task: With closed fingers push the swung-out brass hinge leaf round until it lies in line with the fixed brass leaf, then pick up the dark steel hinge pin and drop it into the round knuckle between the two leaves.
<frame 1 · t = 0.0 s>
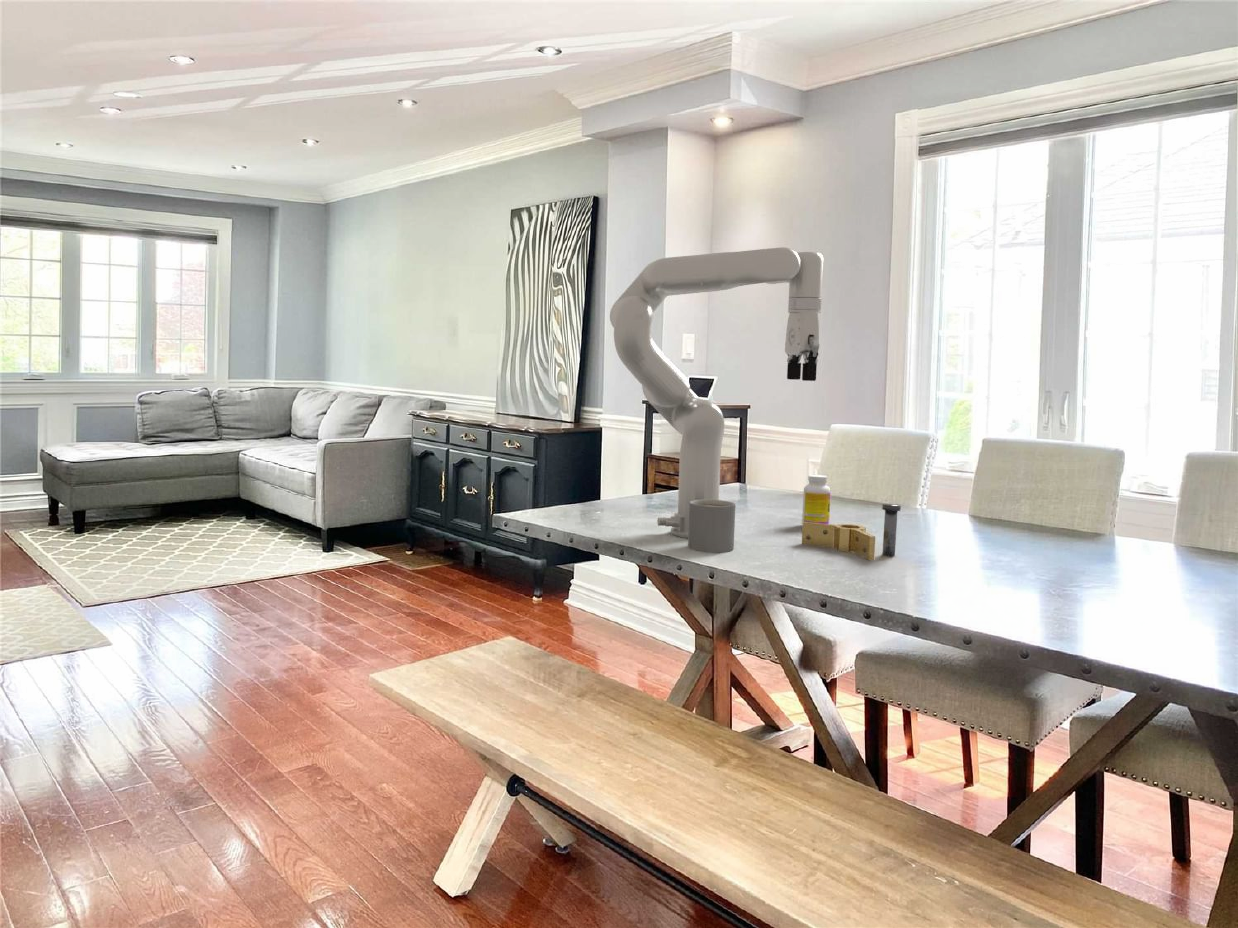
hand: (801, 380, 219), 37 cm above the table, tool pointing down, fingers open, 9 cm apart
loose leaf: (818, 534, 210), point 3 cm above the table, hinge at 55.0°
coffee mug: (713, 547, 206), on the table
supplement bottle: (815, 527, 234), on the table
hinge base: (848, 548, 207), on the table
hinge pin: (888, 555, 201), on the table
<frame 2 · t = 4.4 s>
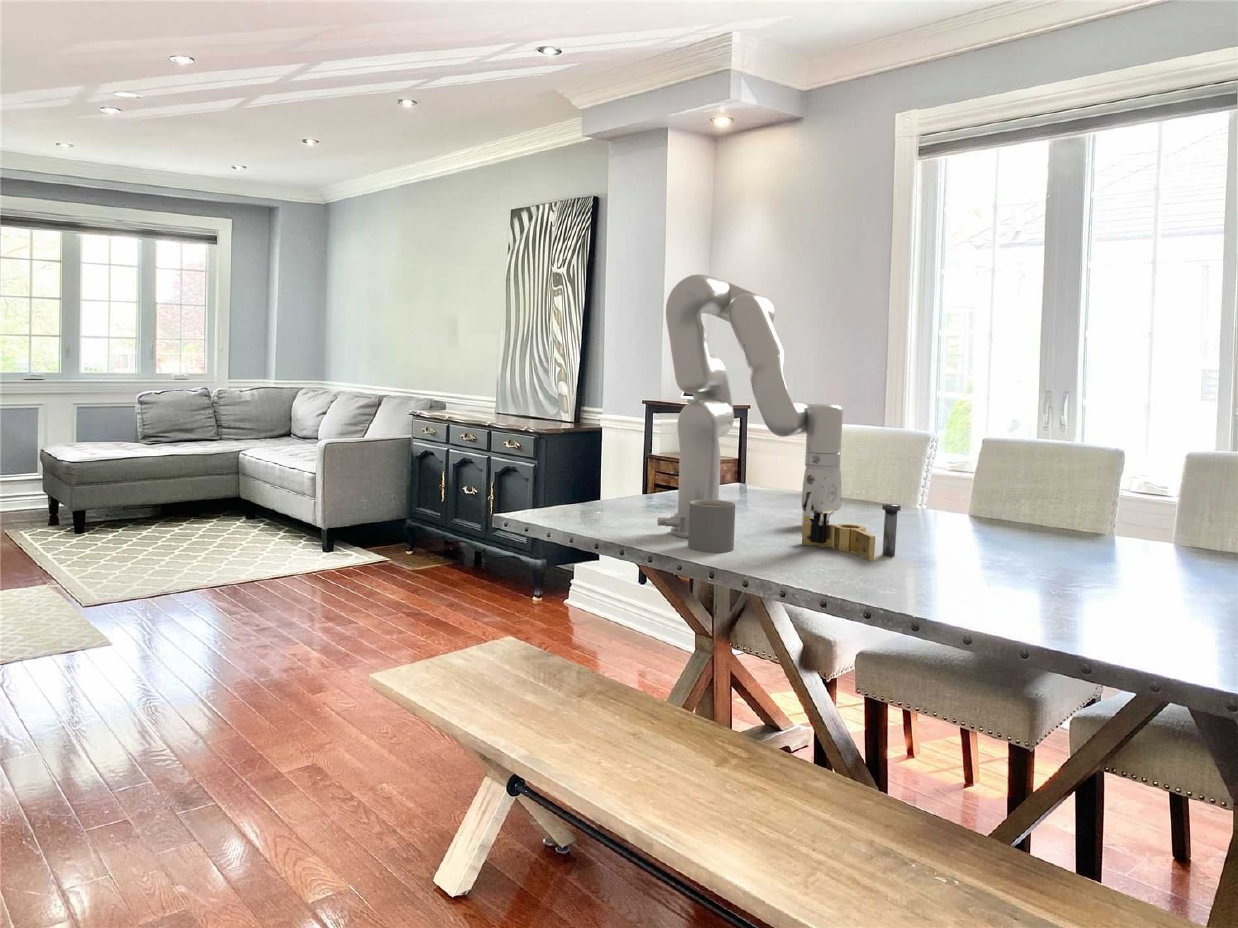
hand: (818, 542, 207), 1 cm above the table, tool pointing down, fingers closed
loose leaf: (818, 534, 210), point 2 cm above the table, hinge at 54.3°, touching gripper
everything else where it was.
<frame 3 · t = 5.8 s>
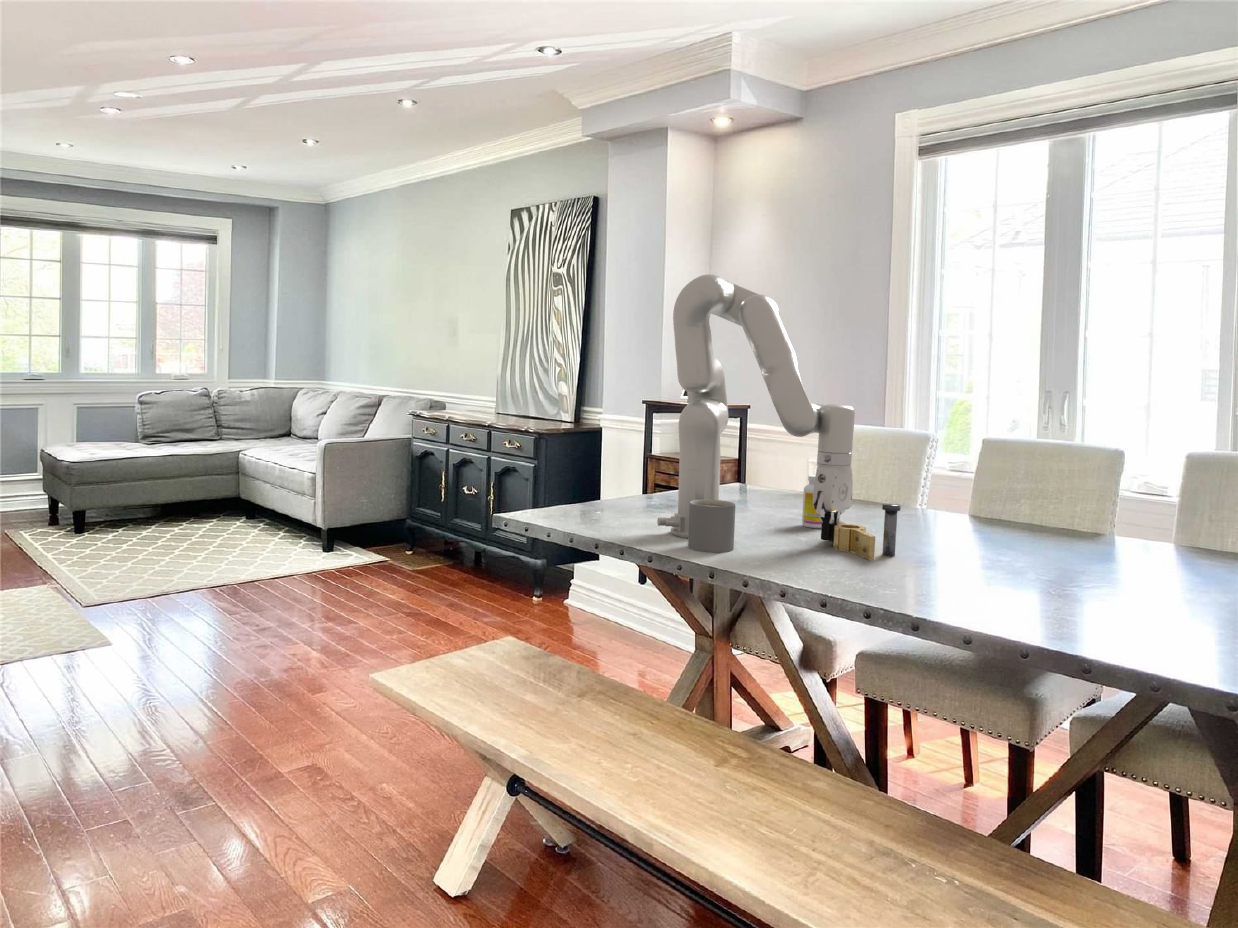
hand: (828, 540, 211), 1 cm above the table, tool pointing down, fingers closed
loose leaf: (837, 531, 214), point 2 cm above the table, hinge at -1.6°, touching gripper
everything else where it was.
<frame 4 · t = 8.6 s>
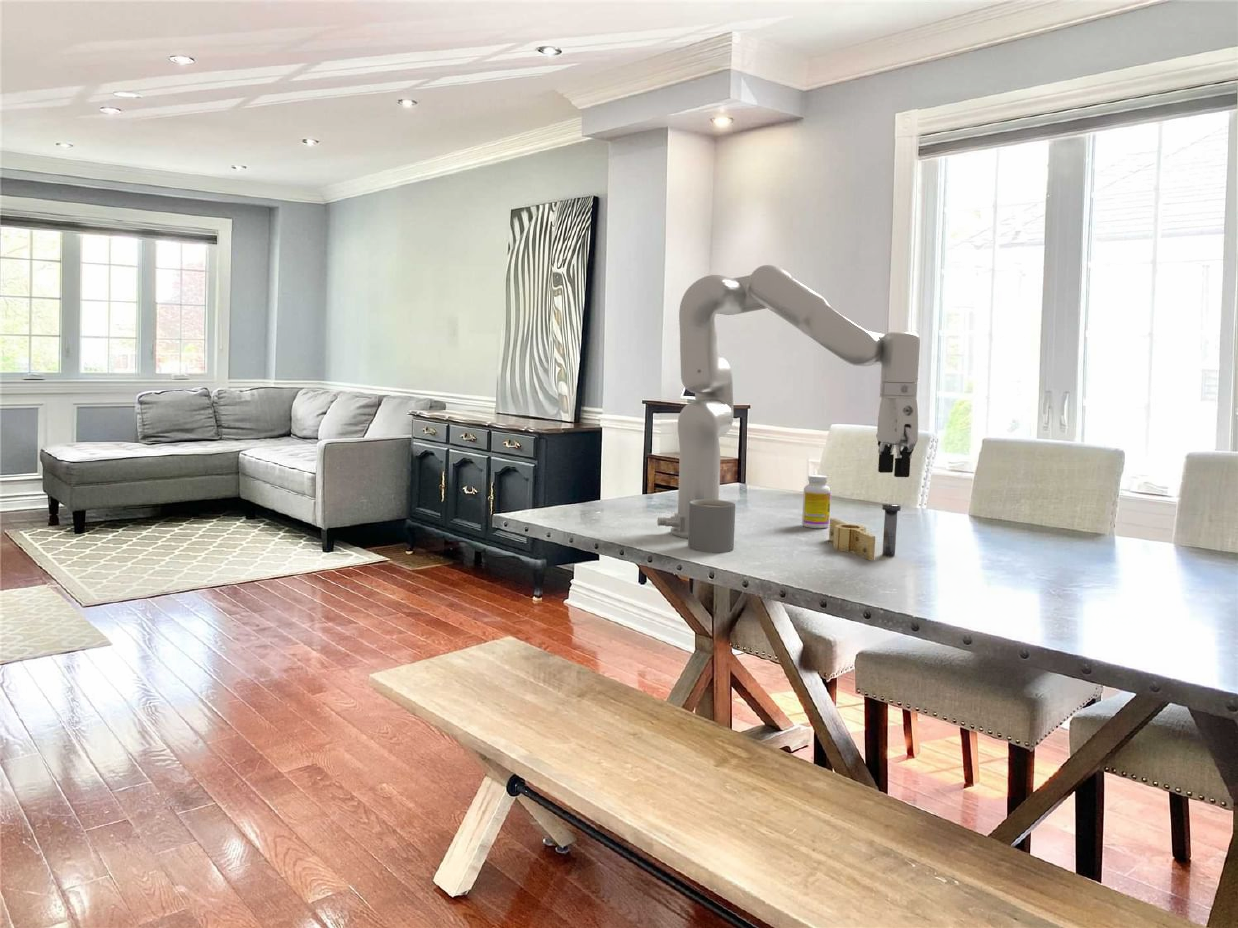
hand: (893, 473, 199), 18 cm above the table, tool pointing down, fingers open, 6 cm apart
loose leaf: (837, 531, 214), point 2 cm above the table, hinge at -1.6°
everything else where it was.
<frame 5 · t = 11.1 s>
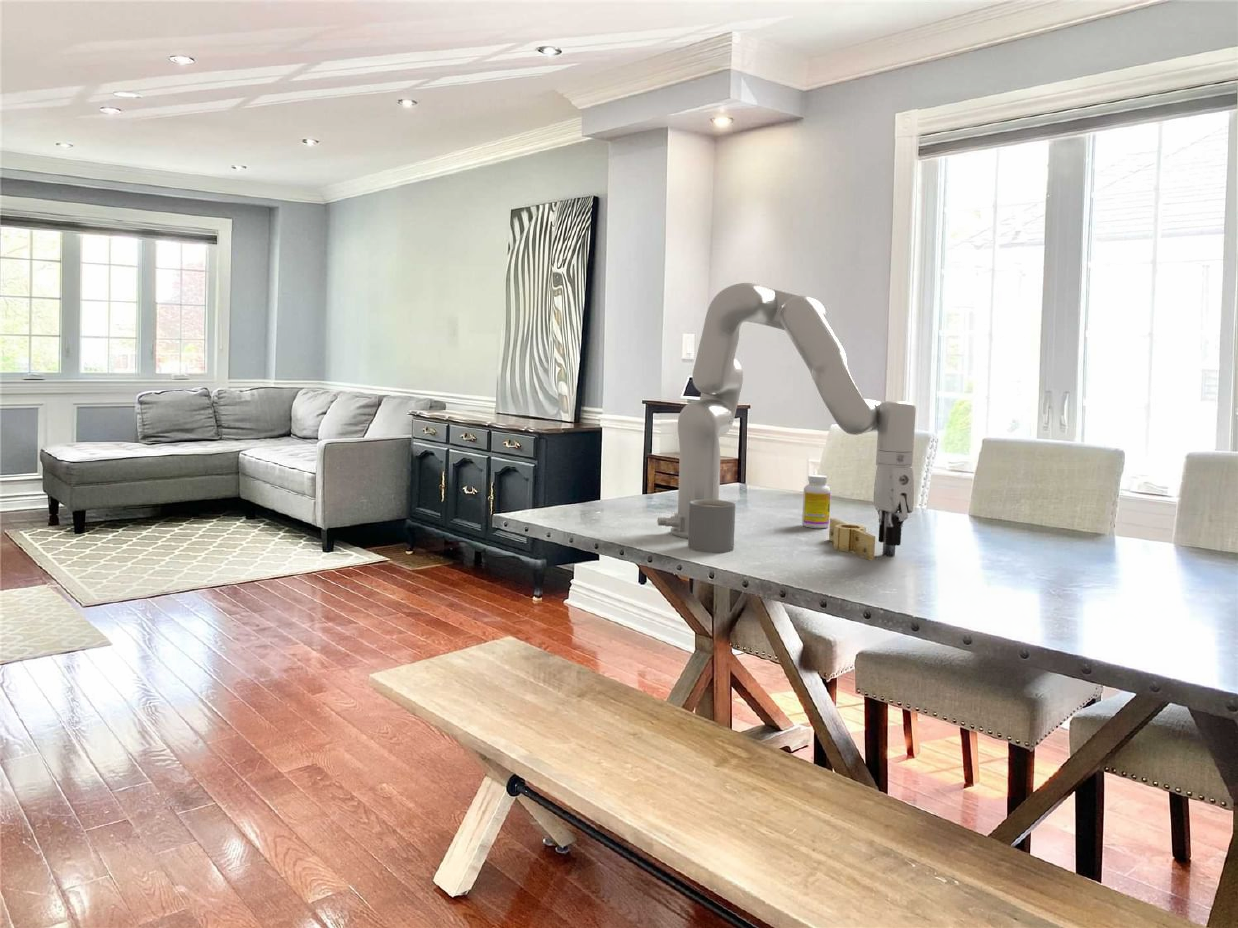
hand: (889, 542, 201), 3 cm above the table, tool pointing down, fingers closed on hinge pin, 2 cm apart
hinge pin: (888, 555, 201), on the table, touching gripper
everything else where it was.
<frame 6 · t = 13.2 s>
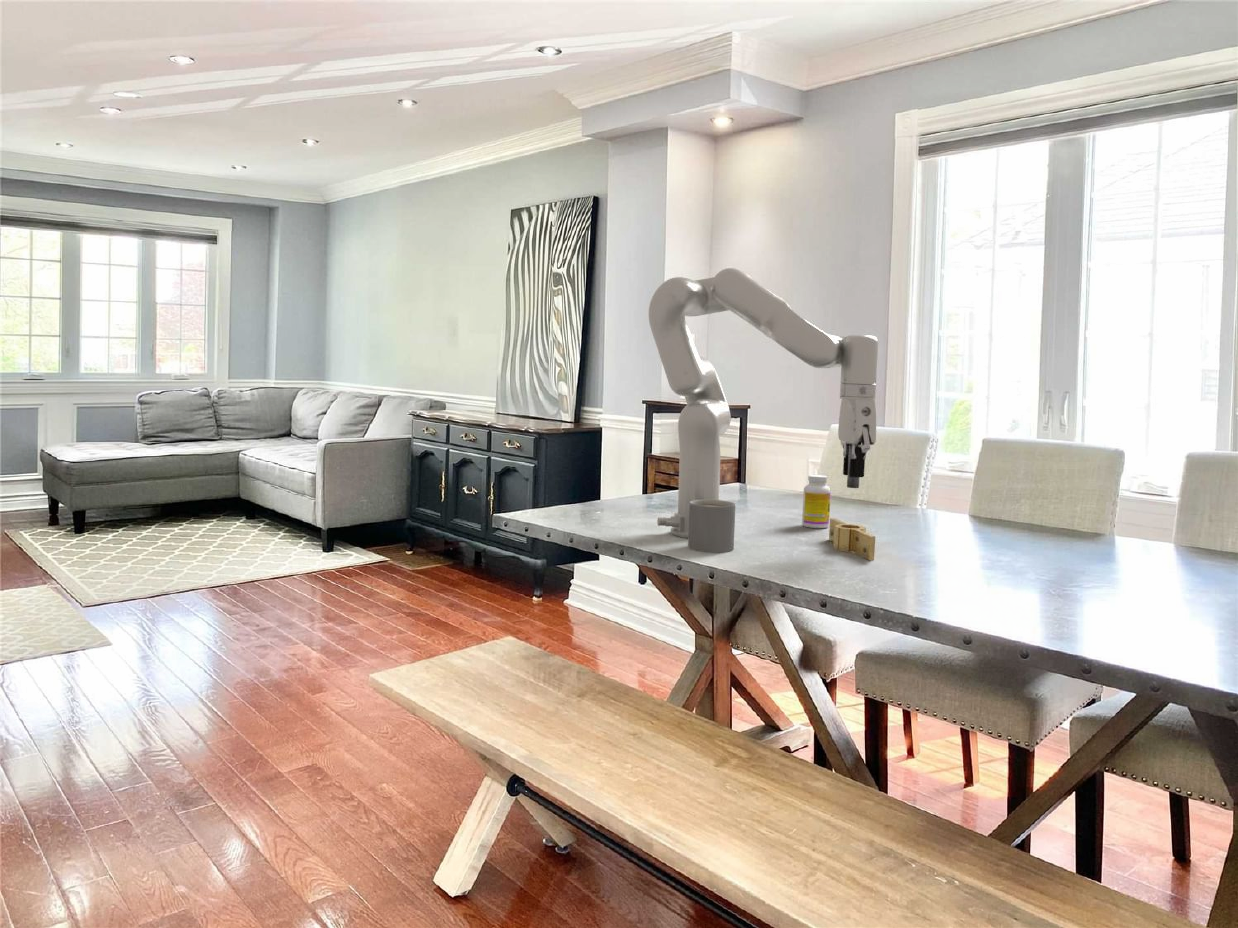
hand: (853, 475, 205), 16 cm above the table, tool pointing down, fingers closed on hinge pin, 2 cm apart
hinge pin: (852, 487, 205), point 14 cm above the table, touching gripper
everything else where it was.
when the fingers open (6 cm above the table, at t = 15.3 s): hinge pin stays where it is, resting in hinge base.
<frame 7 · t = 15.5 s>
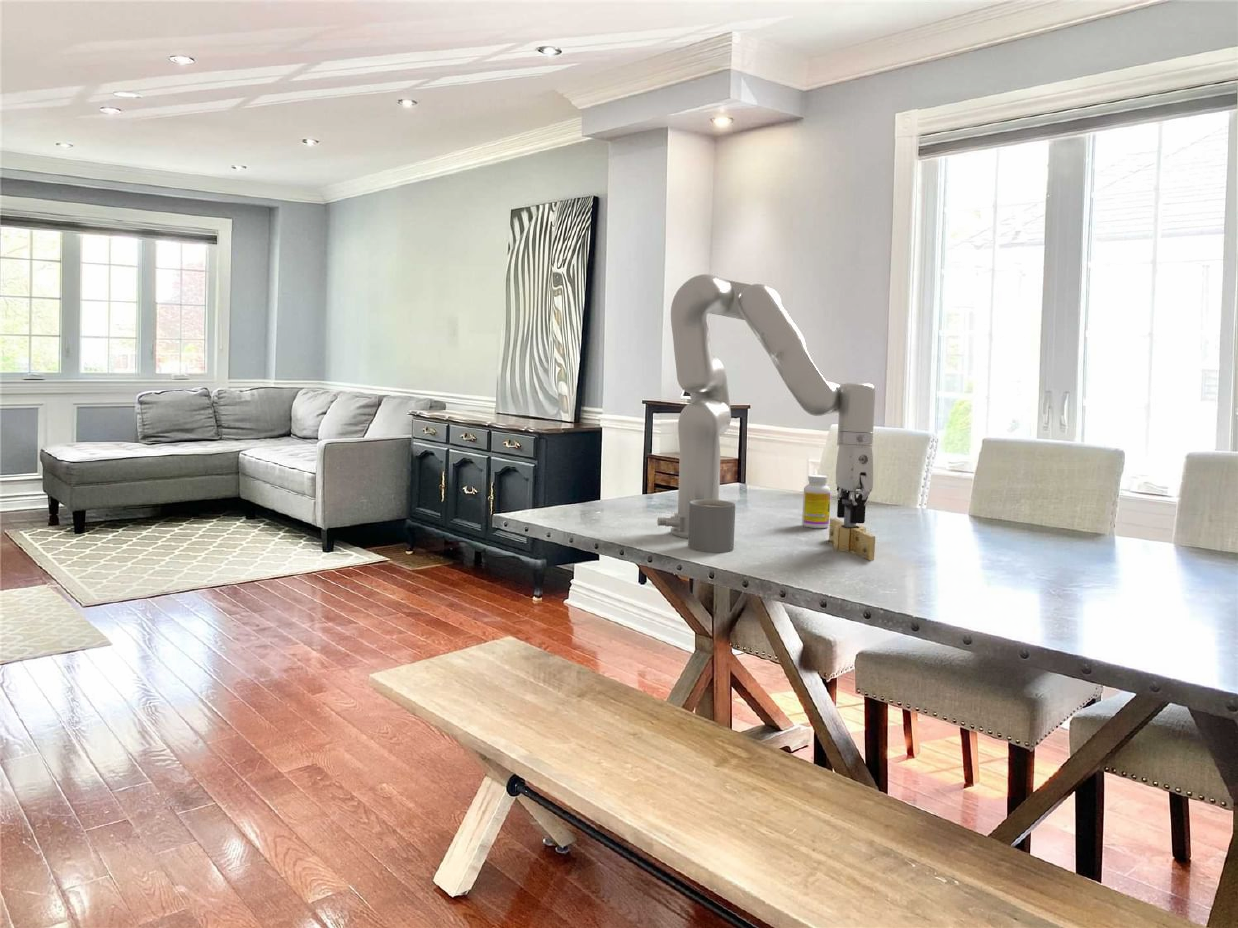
hand: (850, 519, 206), 7 cm above the table, tool pointing down, fingers open, 6 cm apart
hinge pin: (848, 548, 207), resting in hinge base
everything else where it was.
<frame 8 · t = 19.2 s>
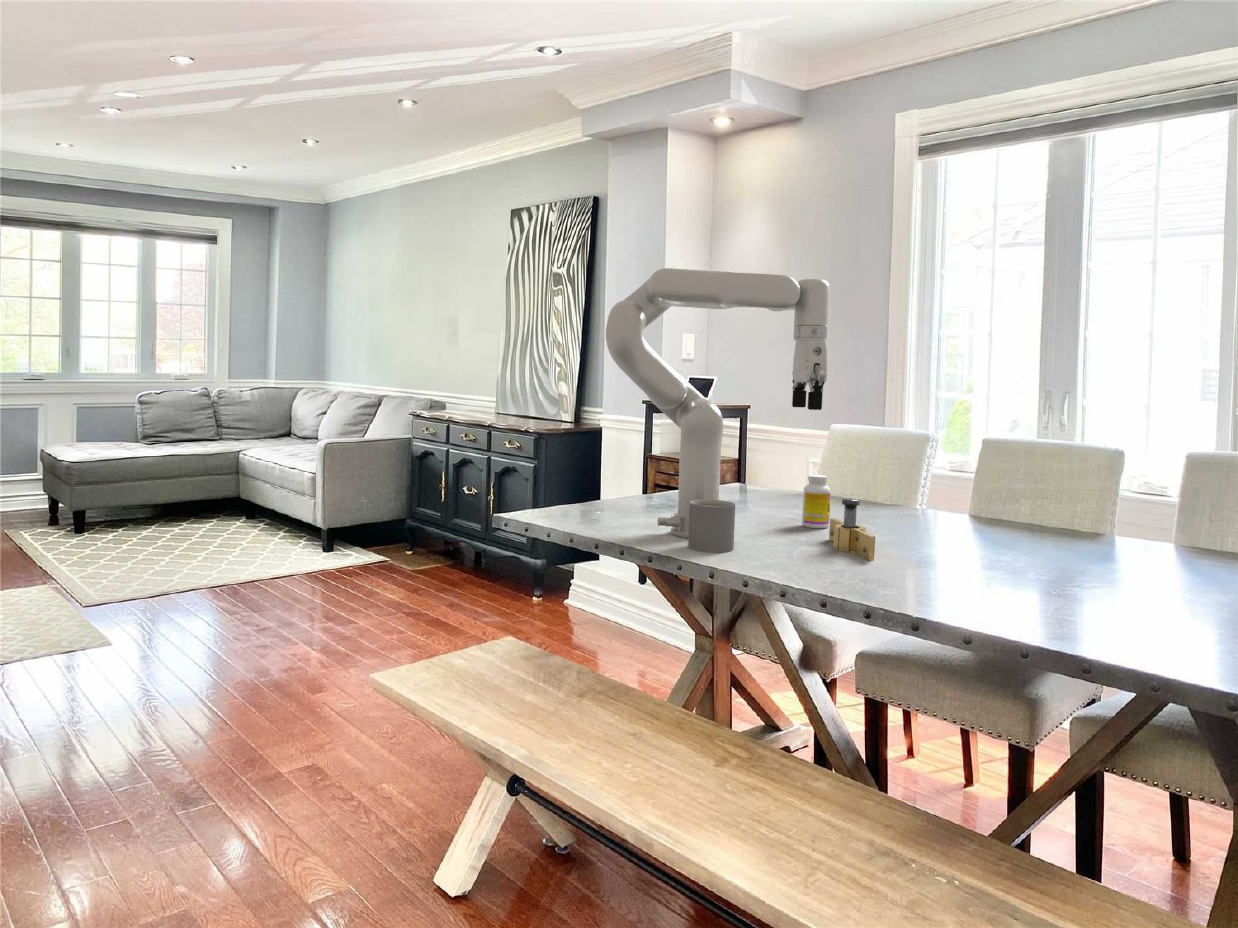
hand: (806, 408, 216), 30 cm above the table, tool pointing down, fingers open, 9 cm apart
nothing on the table moved.
at the end: loose leaf at -2° (first picture: +55°); hinge pin 0.1 cm off-centre on the hinge base, point 0.0 cm above the hinge base's base; hinge pin tilted 0° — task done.
